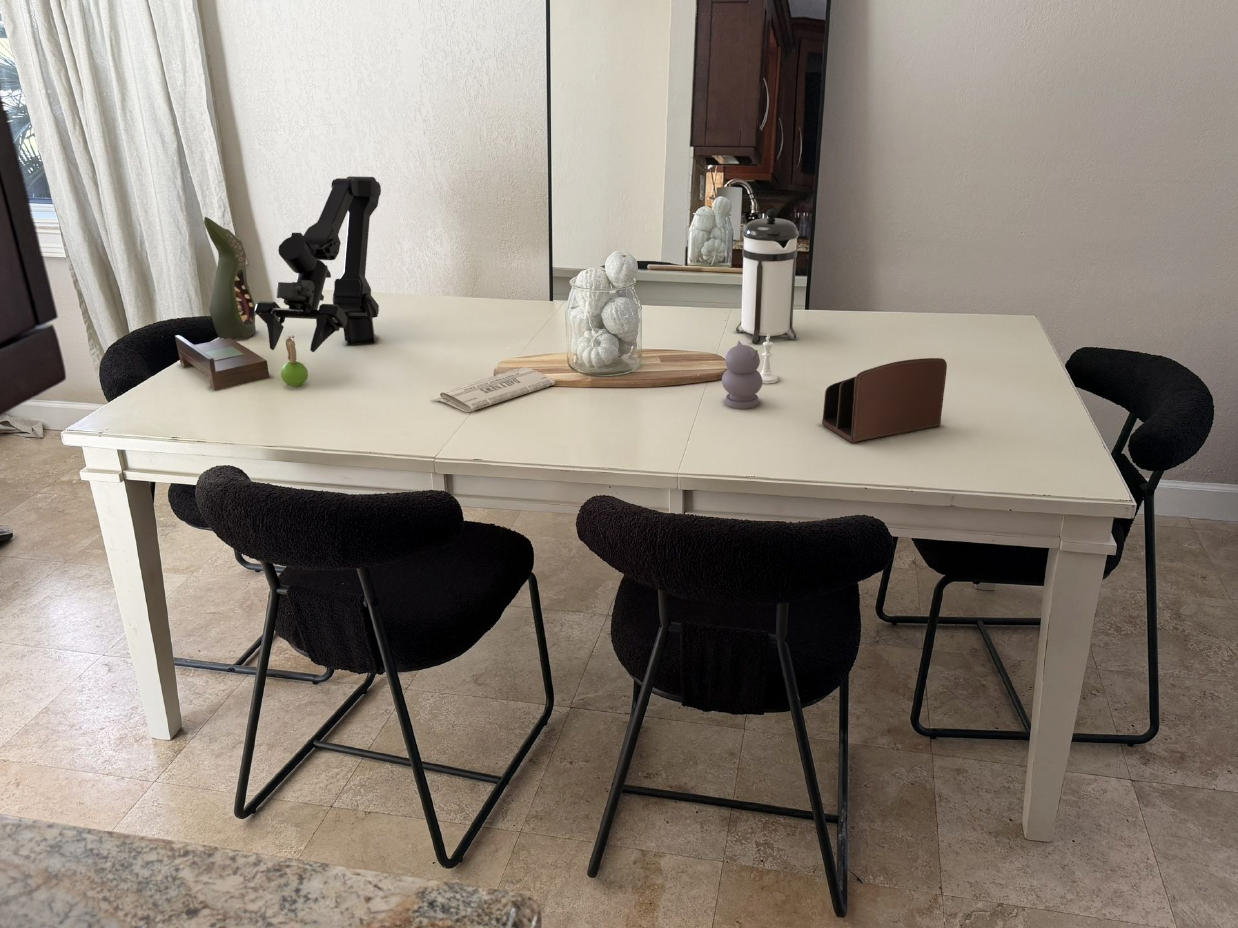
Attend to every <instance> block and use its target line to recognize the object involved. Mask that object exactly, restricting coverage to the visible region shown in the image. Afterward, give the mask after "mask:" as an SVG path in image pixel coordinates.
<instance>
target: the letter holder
mask: <svg viewBox="0 0 1238 928" xmlns="http://www.w3.org/2000/svg"><path fill="white" fill-rule="evenodd" d="M947 370H948V363H947V361H946V360H945V359H944V358H941V357H926V358H914V359H912V358H911V359H905V360H899V361H898V360H897V361H894V362H893V361H892V362H889V363H885V364H881V365H878V366H875V367H871V368H867V369H865V370H863V371H860V372H858V374H856V376H852V377H849V378H847V379H844V380H840V381H837V382H835V383H832V384H830V385H828V386H827V387H826V389H825V391H824V402H823V411H822V420H821V425H822V426H824V427H826V428H827V429H829V430H830V431H832V432H833V433H835V434H837V435H838V436H840V437H842V438H843V439H844V440H846V441H848V442H849V443H851V444H855V443H859V442H865V441H869V440H873V439H879V438H884V437H890V436H895V435H900V434H907V433H910V432H911V433H912V432H916V431H922V430H926V429H931V428H932V429H933V428H939V427H940V426H941V424H942V423H941V422H942V412H943V406H944V397H945V396H944V395H945V388H946V387H945V386H946V380H947V379H946V378H947Z"/></svg>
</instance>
